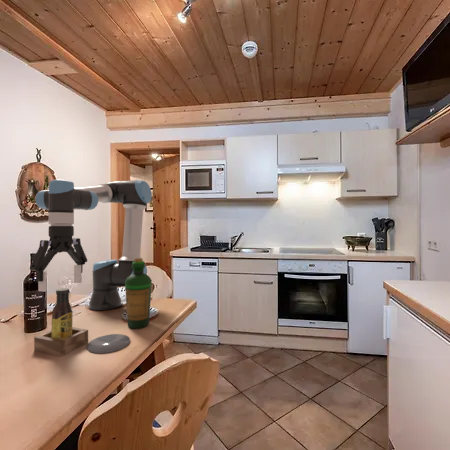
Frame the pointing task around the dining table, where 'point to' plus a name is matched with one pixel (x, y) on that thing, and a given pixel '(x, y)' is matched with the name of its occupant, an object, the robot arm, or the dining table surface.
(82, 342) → the open wooden box
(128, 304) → the bottle
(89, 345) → the slate trivet
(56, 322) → the sauce bottle
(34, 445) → the dining table surface
